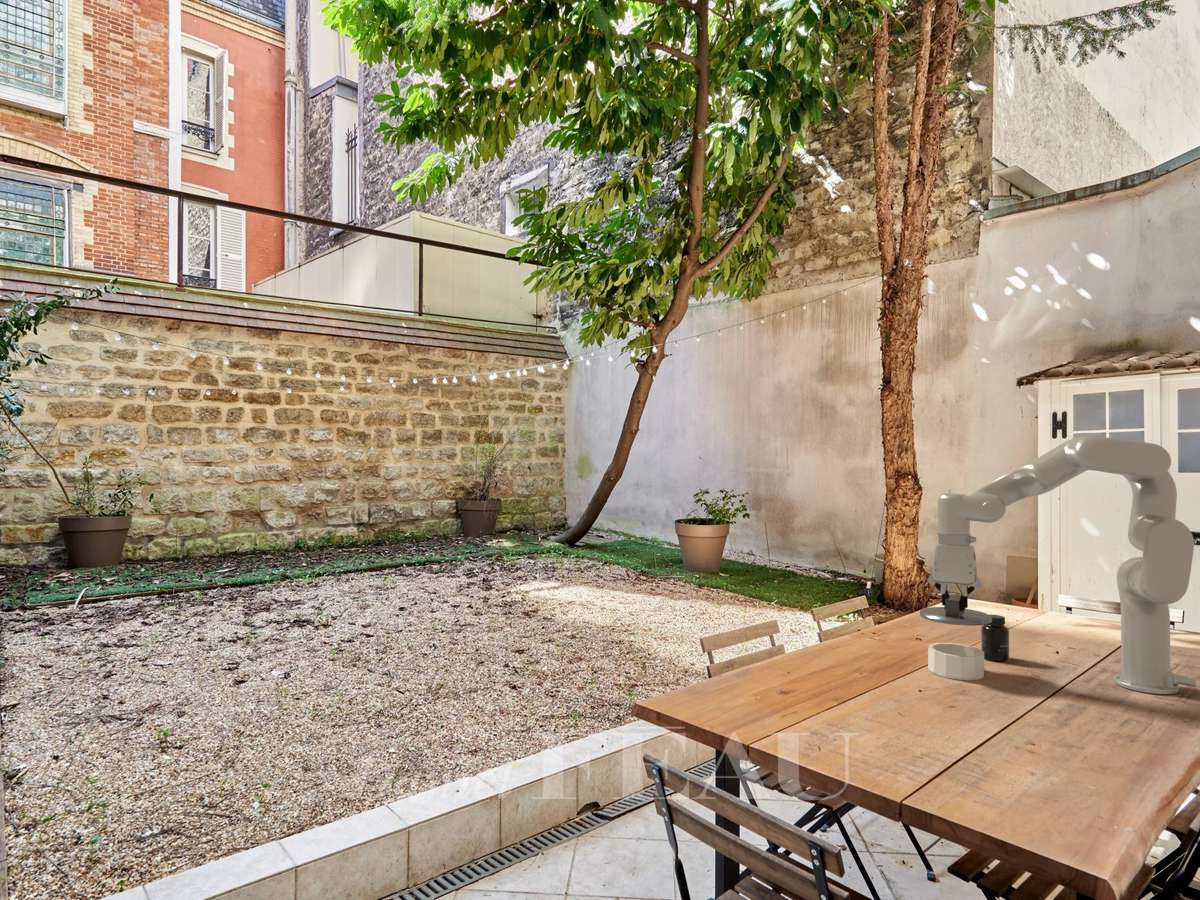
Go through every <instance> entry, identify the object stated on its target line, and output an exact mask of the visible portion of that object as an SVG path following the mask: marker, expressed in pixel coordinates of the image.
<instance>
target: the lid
mask: <svg viewBox="0 0 1200 900" xmlns="http://www.w3.org/2000/svg"><path fill="white" fill-rule="evenodd" d="M960 596H961V594H954V593H949V596H948V597H947V598H946V599H945V609H944V606H931V607H924V608H922V609H920V610H919V616H920V617H921V618H923V619H925V620H927V621H931V622H935V623H938V624H939V623H940V624H945V625H953V626H954V625H955V626H983V625H985V624H989V623H991V622H992V617H991V616H990V615H991V614H988V613H985V612H983V611H979V610H975V609H970V608H965V611H964V612H963V611H961V599H960Z"/></svg>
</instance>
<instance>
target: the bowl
mask: <svg viewBox="0 0 1200 900" xmlns="http://www.w3.org/2000/svg"><path fill="white" fill-rule="evenodd" d="M927 656H928V657H927V659H928V660H927V663H928V664H927V666H928V671H929V672H930V673H932V674H934V675H936V676H939V677H942V678H946V679H950V680H956V681H977V680H978V681H979V680H982V679H983V678H984V677H985V659H984V652H983V651H982V650H981V649H980V648H979V647H975V646H971V645H967V644H961V643H954V642H935V643H931V644H928V647H927Z"/></svg>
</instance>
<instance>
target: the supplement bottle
mask: <svg viewBox="0 0 1200 900" xmlns="http://www.w3.org/2000/svg"><path fill="white" fill-rule="evenodd" d="M989 615H990V616H991V617H992V622H991V623H989V624H985V625H981V628H980V629H981V632H980V634H981V638H980V639H981V641H980V643H981V645H980V646H981V649H980V650H982V651H983V652H984V660H987V661H990V662H995V663H1004V662H1005V663H1006V662H1008V661H1009V660H1010V630H1009V628H1008V627H1007V626H1006V625H1005V624H1006V618H1005V616H1002V615H999V614H989Z"/></svg>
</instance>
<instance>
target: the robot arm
mask: <svg viewBox="0 0 1200 900" xmlns="http://www.w3.org/2000/svg"><path fill="white" fill-rule="evenodd" d="M1171 465H1172V457H1171V454H1170V453H1169V452H1168V450H1167V449H1165V447H1163V446H1161V445H1158V444H1157V443H1153V442H1145V441H1138V440H1137V441H1135V440H1129V439H1120V438H1114V437H1106V436H1099V435H1079V436H1075V437H1072V438H1070V439H1068V440H1066V441H1064V442H1063V443H1061V444H1059V445H1057V446H1056V447H1054V448H1052V449H1051V450H1049V451H1047V452H1045V453H1043V454H1042V455H1041V456H1039V457H1037V458H1035V459H1033V460H1031V461H1030V462H1028V463H1026V464H1024V465H1022V466H1020V467H1018V468H1016V469H1014V470H1012V471H1011V472H1009V473H1007V474H1005V475H1003V476H1001V477H998V478H997V479H995V480H993V481H991V482H989V483H988V484H986V485H984V486H982V487H981V488H979V489H977V490H975V491H974V492H972V493H971V494H969V495H966V494H963V493H942V494H940V495H939V496H938V498H937V531H938V532H937V533H938V534H937V540H938V543H936V544H935V546H934V551H933V562H932V572H931V573H930V574H929V577H927V580H926V581H927V583H929V584H931V586H933V587H934V588H936V590H937V591H939V592H940V594H941V605H942V607H944V609H945V599H946V598H947V597H948V596H949V595H950V593H949V590H948V587H949V586H948V585H949V584H956V585H960V586H961V593H960V595H961V596H960V599H961V611H963V612H964V611H965V609H969V608H968V607H969V603H968V601H969V597H968V595H970V594H971V593H973V591H976V590H980V589H981V588H983V587H984V584H983V582H982V581H981V579H980V577H979V575H978V569H977V558H976V551H975V546H973V545H971V544H972V543H977V537H976V536H972V535H971V521H972V522H977V523H978V522H979V523H986V524H989V523H990V524H991V523H995V522H998V521H1000V520H1001V519H1003V517H1004V516H1005V514H1006V509H1007V507H1009V506H1011V505H1012V504H1014V503H1016V502H1018V501H1021V500H1023V499H1026V498H1031V497H1035V496H1036V497H1037V496H1041V495H1043V494H1046V493H1049V492H1051V491H1053V490H1055V489H1056V488H1058V487H1060V486H1061V485H1063V484H1065V483H1066V482H1068V481H1070V480H1072V479H1074V478H1075V477H1077V476H1080V475H1081V474H1083V473H1085V472H1087V471H1095V472H1102V473H1108V474H1111V475H1112V474H1114V475H1120V476H1123V477H1124V478H1125V479H1126V480H1127V482H1128V483H1129V485H1130V487H1131V493H1132V499H1131V511H1130V517H1129V523H1128V531H1127V539H1128V541H1129V543H1130V544H1131V546H1132V547H1134V549H1137V550H1139V551H1140V552H1142V557H1141V556H1139V557H1136V556H1135V557H1131V558H1129V559H1128V558H1127V559H1126V560H1125V561H1123V562H1122V563H1121V565H1120V566H1119V568H1118V569H1117V573H1116V583H1117V589H1118V595H1119V601H1120V644H1121V645H1120V650H1121V651H1120V652H1121V653H1120V654H1121V656H1120V657H1121V658H1120V659H1121V660H1120V661H1121V662H1120V663H1121V673H1118V674H1115V675H1114V677H1113V681H1114V683H1115V684H1116V685H1118V686H1121V687H1123V688H1126V689H1128V690H1132V691H1137V692H1141V693H1146V694H1154V695H1155V694H1156V695H1175V694H1178V693H1179V692H1180V686H1179V685H1181V686H1187V687H1191V688H1196V687H1197V679H1196V678H1192V677H1189V676H1187V675H1183V674H1182V675H1178V674H1176V673H1173V670H1172V668H1171V615H1170V607H1169V605H1171V604H1175V603H1177V602H1179V601H1180V600H1182V598H1183V597H1184V596H1185V595H1186V593H1187V592H1188V588H1189V584H1190V578H1191V572H1192V565H1193V558H1194V551H1195V550H1194V549H1195V540H1194V535H1193V534H1192V532H1191V529H1190V528H1189V527H1188V526H1187V525H1186V524H1185V523H1183V521H1180V520H1179V519H1176V514H1177V513H1176V512H1177V503H1178V502H1177V501H1178V498H1177V496H1178V494H1177V487H1176V483H1175V480H1174V478H1173V476H1172V474H1171V473H1170V472H1169V469H1170V467H1171ZM969 585H970V586H969Z"/></svg>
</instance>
